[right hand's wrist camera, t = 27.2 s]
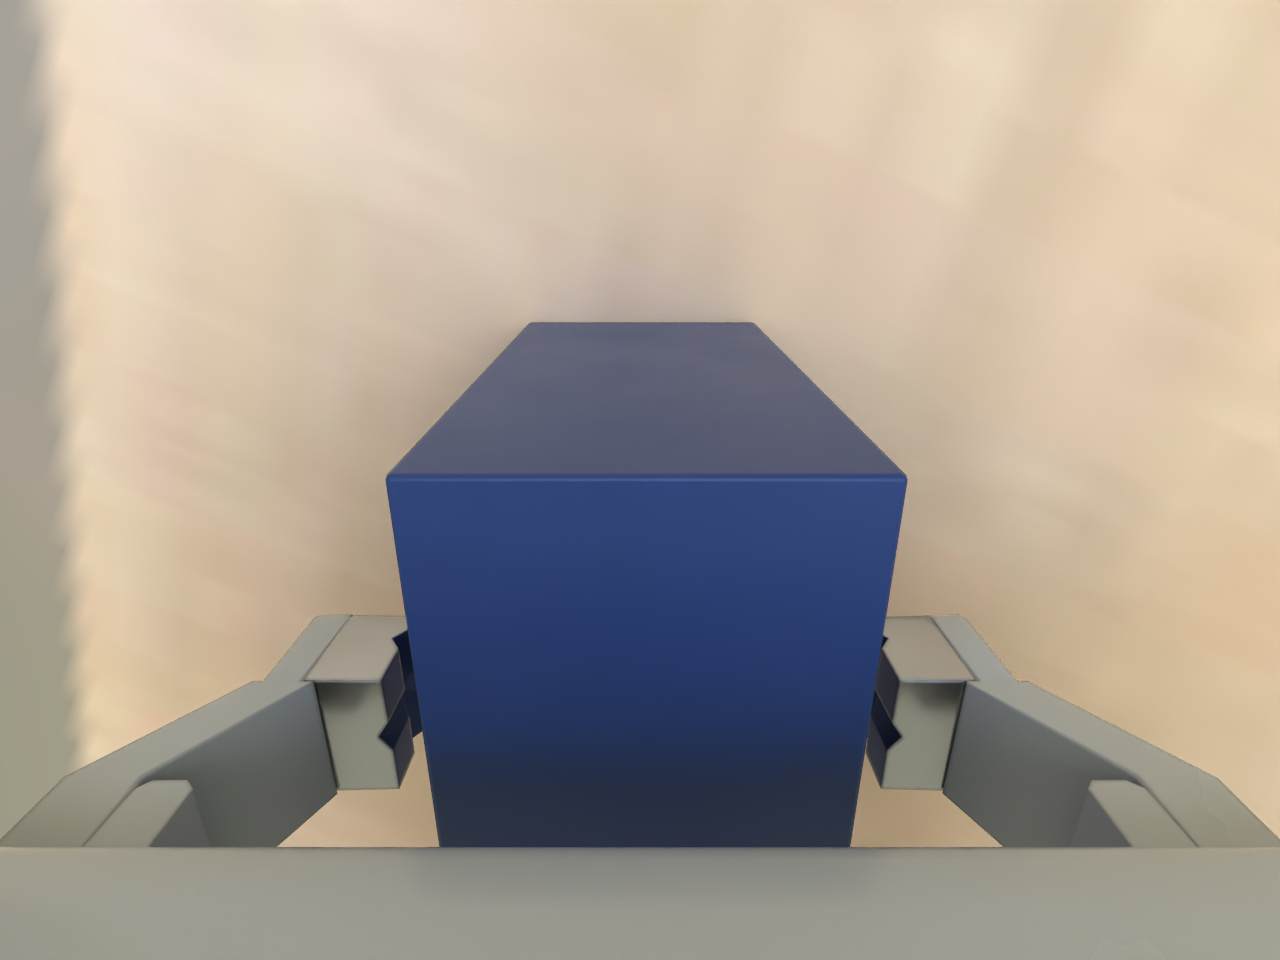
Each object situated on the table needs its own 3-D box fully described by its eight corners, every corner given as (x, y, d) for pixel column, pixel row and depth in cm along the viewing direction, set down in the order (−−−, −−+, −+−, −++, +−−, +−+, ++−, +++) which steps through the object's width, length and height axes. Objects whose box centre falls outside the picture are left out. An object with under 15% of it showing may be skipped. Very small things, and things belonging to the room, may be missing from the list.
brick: (754, 322, 15) (910, 475, 6) (735, 625, 18) (826, 1011, 9) (528, 322, 15) (381, 475, 6) (546, 625, 18) (462, 1011, 9)
